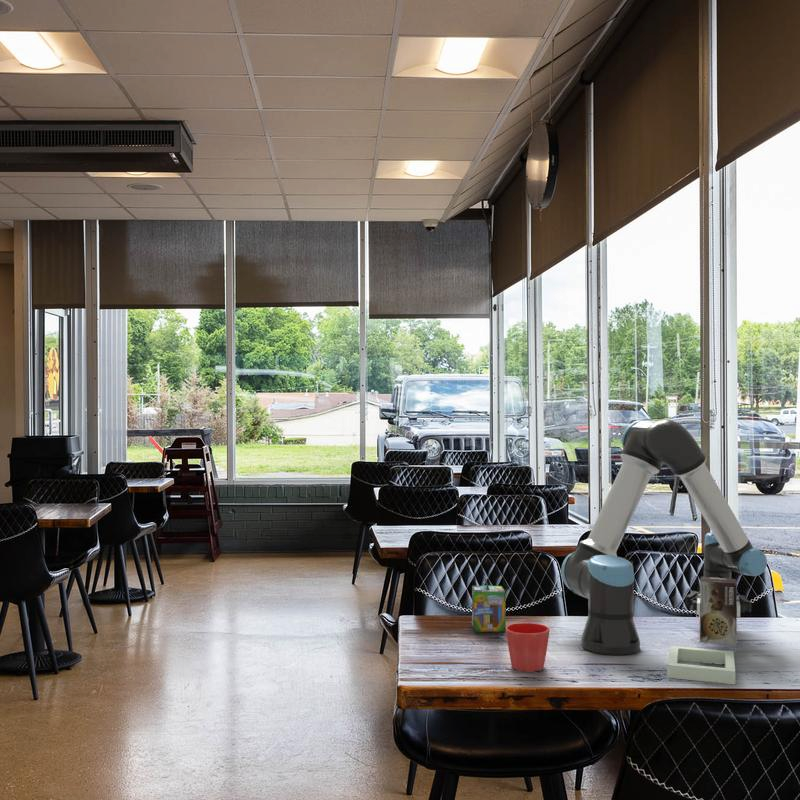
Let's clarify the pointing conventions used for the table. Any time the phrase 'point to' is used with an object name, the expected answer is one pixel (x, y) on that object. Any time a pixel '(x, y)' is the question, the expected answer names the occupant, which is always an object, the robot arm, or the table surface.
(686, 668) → the sage collar
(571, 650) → the table surface
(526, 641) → the flower pot
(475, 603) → the chalk box
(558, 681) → the table surface
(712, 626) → the coffee box
